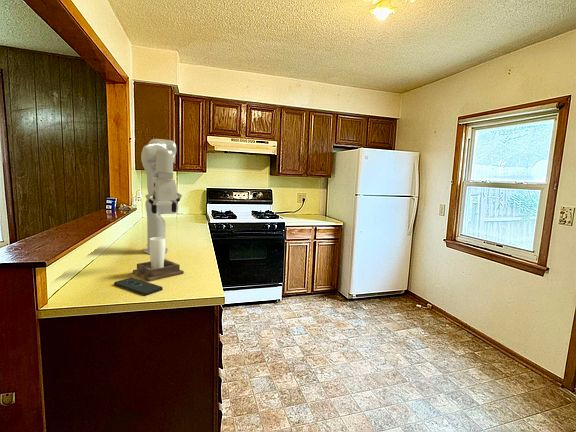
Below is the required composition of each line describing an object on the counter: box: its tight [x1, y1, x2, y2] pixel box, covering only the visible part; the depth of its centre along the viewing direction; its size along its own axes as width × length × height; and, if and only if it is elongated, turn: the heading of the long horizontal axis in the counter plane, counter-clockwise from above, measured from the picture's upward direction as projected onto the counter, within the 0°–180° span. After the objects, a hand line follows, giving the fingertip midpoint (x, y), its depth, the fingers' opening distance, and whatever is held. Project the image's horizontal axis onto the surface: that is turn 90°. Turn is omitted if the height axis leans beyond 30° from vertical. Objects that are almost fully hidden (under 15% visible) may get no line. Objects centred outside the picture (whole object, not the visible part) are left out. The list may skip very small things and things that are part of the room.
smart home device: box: [113, 276, 163, 297], centre depth 123 cm, size 8×2×20 cm
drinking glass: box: [149, 237, 166, 269], centre depth 140 cm, size 7×7×15 cm
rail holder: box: [132, 258, 185, 282], centre depth 141 cm, size 16×16×4 cm
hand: (164, 212), depth 146 cm, fingers open, 9 cm apart
